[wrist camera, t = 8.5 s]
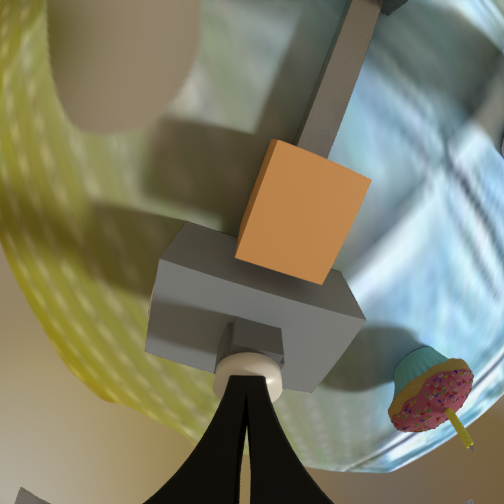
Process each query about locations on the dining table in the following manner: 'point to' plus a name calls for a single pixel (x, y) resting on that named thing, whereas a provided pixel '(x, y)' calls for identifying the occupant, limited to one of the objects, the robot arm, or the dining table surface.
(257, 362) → the plunger
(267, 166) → the carriage
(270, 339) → the button box
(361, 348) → the dining table surface
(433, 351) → the cupcake
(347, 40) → the rail
